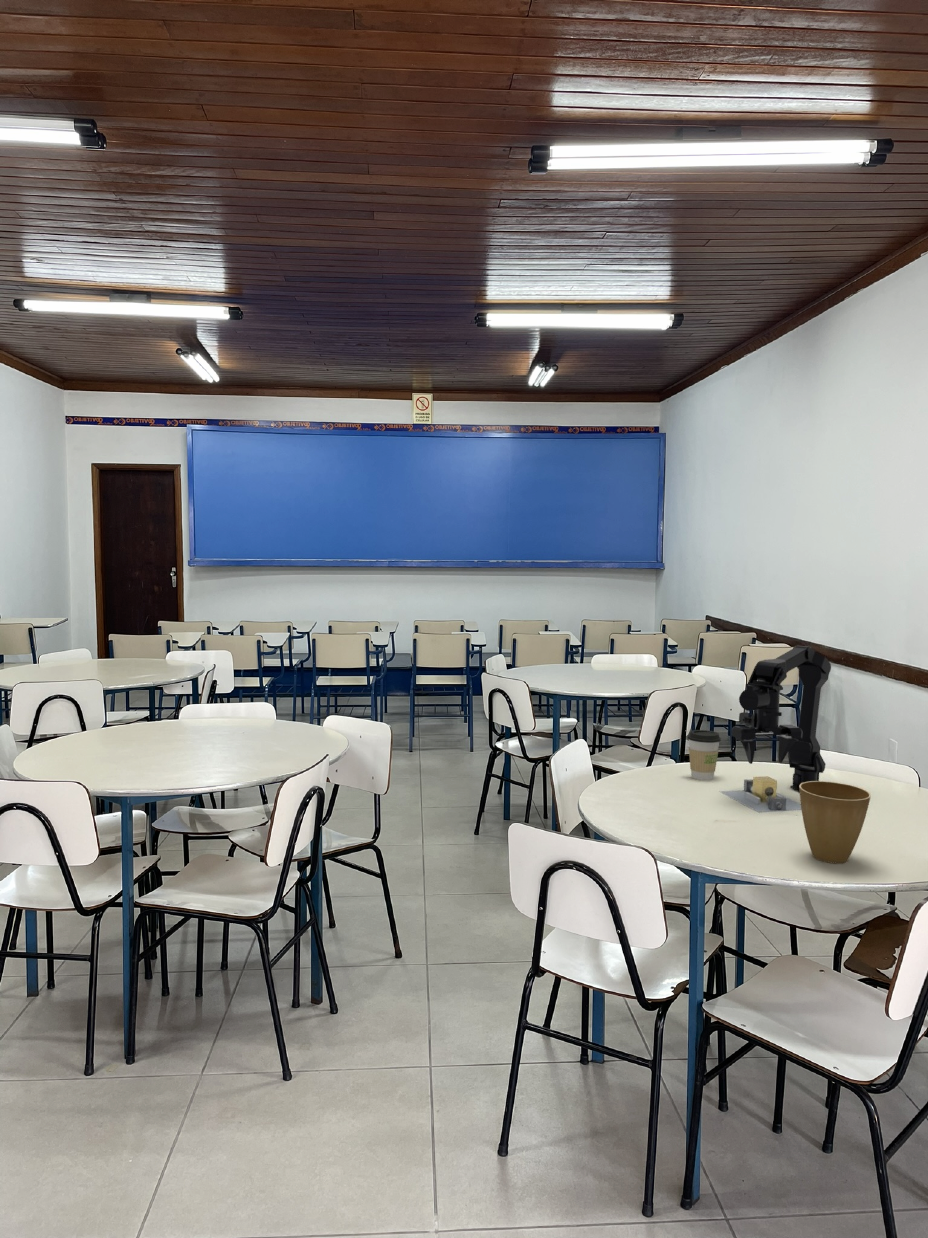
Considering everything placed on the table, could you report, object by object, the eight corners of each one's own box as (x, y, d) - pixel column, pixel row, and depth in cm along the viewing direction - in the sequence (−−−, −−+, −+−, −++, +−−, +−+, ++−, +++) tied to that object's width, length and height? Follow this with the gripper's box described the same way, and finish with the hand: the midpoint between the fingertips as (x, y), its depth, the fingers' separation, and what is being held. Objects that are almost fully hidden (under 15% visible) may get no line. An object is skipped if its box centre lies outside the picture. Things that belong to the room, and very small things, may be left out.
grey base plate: (768, 793, 247) (769, 783, 246) (811, 813, 227) (812, 803, 227) (719, 795, 243) (719, 786, 243) (758, 816, 224) (758, 806, 223)
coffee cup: (723, 786, 253) (725, 736, 252) (690, 785, 253) (692, 736, 252) (714, 777, 263) (716, 730, 262) (682, 776, 263) (684, 729, 262)
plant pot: (794, 863, 189) (797, 793, 188) (797, 843, 203) (800, 778, 202) (868, 874, 183) (872, 802, 182) (865, 853, 197) (869, 785, 196)
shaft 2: (762, 804, 231) (763, 792, 231) (777, 804, 231) (777, 792, 231) (771, 810, 225) (771, 798, 225) (785, 810, 226) (786, 798, 225)
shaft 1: (765, 796, 239) (765, 784, 239) (751, 796, 239) (751, 784, 239) (757, 790, 245) (757, 779, 244) (743, 790, 244) (744, 779, 244)
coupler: (776, 802, 233) (777, 780, 233) (761, 802, 232) (762, 781, 232) (766, 797, 238) (767, 776, 237) (752, 798, 237) (753, 776, 236)
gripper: (780, 701, 243) (778, 755, 244) (722, 702, 239) (719, 757, 240) (804, 708, 232) (802, 764, 233) (743, 709, 228) (741, 767, 229)
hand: (765, 763), depth 234 cm, fingers open, 9 cm apart
